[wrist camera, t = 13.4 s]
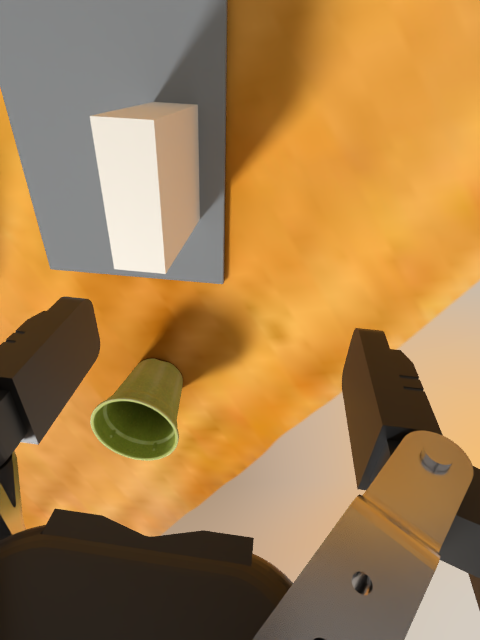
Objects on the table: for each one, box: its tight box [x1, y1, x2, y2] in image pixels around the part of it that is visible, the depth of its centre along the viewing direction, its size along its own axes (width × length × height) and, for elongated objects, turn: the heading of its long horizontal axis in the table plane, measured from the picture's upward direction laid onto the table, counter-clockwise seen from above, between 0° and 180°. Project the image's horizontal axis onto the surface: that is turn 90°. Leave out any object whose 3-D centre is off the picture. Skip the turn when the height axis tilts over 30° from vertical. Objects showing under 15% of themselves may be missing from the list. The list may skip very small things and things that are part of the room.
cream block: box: [90, 102, 200, 274], centre depth 27 cm, size 9×4×11 cm, turn 177°
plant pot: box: [90, 358, 183, 460], centre depth 42 cm, size 9×9×9 cm
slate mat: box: [0, 0, 227, 284], centre depth 32 cm, size 22×18×1 cm
